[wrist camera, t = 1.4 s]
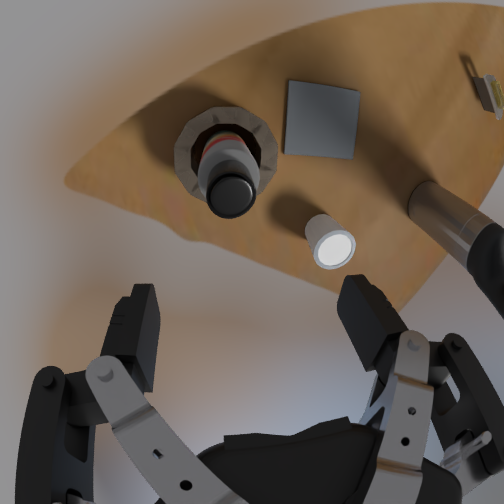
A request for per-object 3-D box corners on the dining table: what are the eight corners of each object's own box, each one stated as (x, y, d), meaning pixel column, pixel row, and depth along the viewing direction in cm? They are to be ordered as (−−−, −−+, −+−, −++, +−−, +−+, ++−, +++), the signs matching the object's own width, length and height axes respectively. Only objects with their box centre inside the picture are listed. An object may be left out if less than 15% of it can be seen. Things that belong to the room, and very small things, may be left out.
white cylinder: (304, 251, 47) (317, 275, 42) (297, 217, 44) (310, 238, 38) (340, 240, 47) (357, 262, 41) (336, 205, 43) (354, 224, 38)
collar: (271, 107, 34) (280, 109, 29) (266, 190, 41) (273, 204, 36) (179, 107, 33) (173, 109, 28) (182, 191, 39) (177, 206, 34)
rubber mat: (358, 91, 33) (360, 91, 33) (351, 158, 39) (352, 159, 39) (288, 80, 32) (289, 80, 32) (283, 153, 38) (284, 154, 38)
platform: (475, 46, 27) (497, 47, 21) (500, 116, 35) (520, 123, 30) (449, 62, 30) (474, 64, 25) (478, 139, 39) (499, 148, 33)
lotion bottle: (222, 121, 35) (226, 144, 18) (253, 146, 37) (285, 192, 20) (196, 152, 36) (177, 205, 20) (227, 175, 39) (236, 245, 22)
